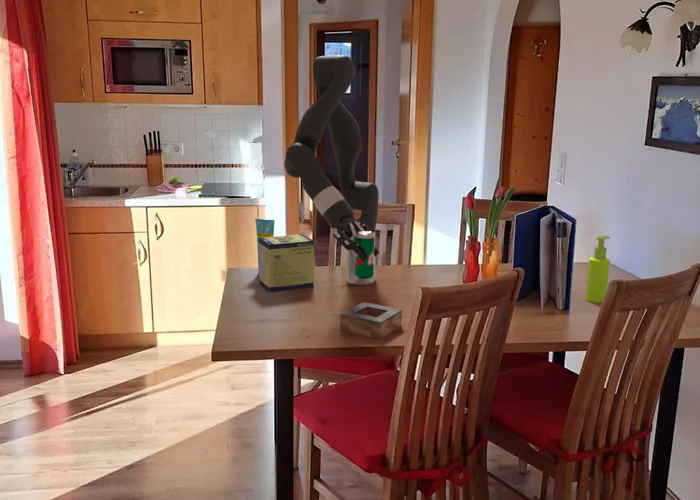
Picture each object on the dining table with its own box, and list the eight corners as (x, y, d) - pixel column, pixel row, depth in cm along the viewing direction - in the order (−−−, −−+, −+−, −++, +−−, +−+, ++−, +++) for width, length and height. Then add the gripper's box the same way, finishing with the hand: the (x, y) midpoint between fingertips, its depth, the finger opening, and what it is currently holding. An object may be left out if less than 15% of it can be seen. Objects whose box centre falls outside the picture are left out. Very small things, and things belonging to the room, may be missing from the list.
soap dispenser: (609, 299, 212) (616, 236, 207) (600, 304, 207) (607, 240, 202) (591, 295, 216) (597, 233, 211) (582, 300, 211) (588, 236, 206)
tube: (253, 274, 234) (251, 219, 230) (259, 271, 239) (257, 217, 234) (273, 276, 232) (272, 221, 228) (278, 272, 237) (277, 218, 232)
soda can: (371, 280, 179) (373, 235, 176) (352, 278, 180) (353, 234, 177) (375, 274, 183) (376, 231, 180) (356, 273, 184) (357, 230, 182)
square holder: (363, 317, 192) (363, 302, 191) (401, 325, 186) (402, 309, 185) (340, 330, 182) (340, 313, 181) (380, 339, 176) (380, 322, 175)
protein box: (314, 286, 221) (314, 239, 218) (269, 292, 215) (268, 244, 211) (302, 278, 231) (302, 233, 227) (258, 283, 224) (257, 237, 220)
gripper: (326, 202, 175) (366, 254, 171) (356, 194, 187) (393, 243, 183) (309, 220, 179) (348, 271, 175) (339, 211, 190) (376, 259, 187)
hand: (371, 257), depth 179 cm, fingers closed on soda can, 4 cm apart
